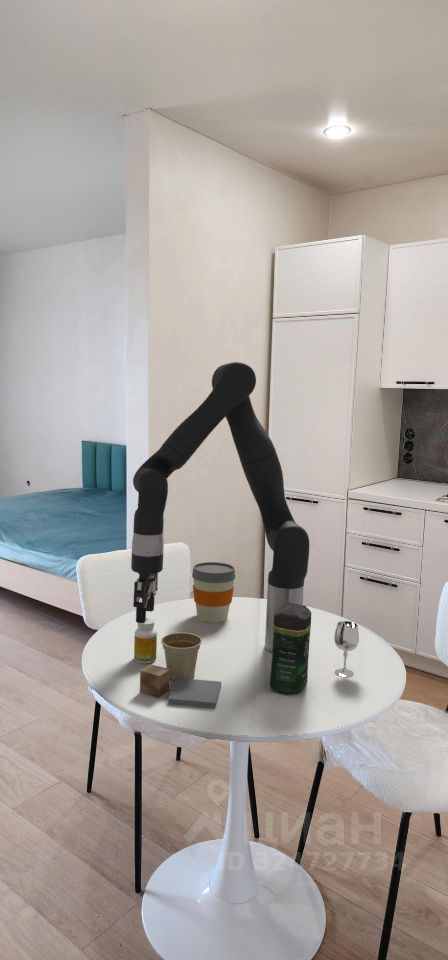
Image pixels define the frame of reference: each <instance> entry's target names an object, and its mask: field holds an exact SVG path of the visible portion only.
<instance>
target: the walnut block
mask: <svg viewBox="0 0 448 960" xmlns="http://www.w3.org/2000/svg"><path fill="white" fill-rule="evenodd" d="M139 672H140V674H139V675H140V676H139V693H140V694H144V695H148V696H151V697H155V698H158V699H160V698H161V697H163V696H164V695H165V694H167V693H168V692H169V691H170V682H171V681H170V680H171V678H170V669H167V667H162V666H159V665H155V664H152V663H149V664H148V665H147V666H144V667H143V668H142V669H141V670H140V671H139Z"/></svg>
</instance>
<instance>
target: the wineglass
mask: <svg viewBox="0 0 448 960" xmlns="http://www.w3.org/2000/svg"><path fill="white" fill-rule="evenodd" d="M334 630H335V631H334V637H333V638H334V639H333V640H334V641H333V642H334V643H335V646H336V647H337V649H339V650H341V651H342V652H343V654H342V655H343V667H342V668H337V669H335V670H334V673H335V674H336V675H337V676H340V677H344V678H350V676H351V677H353V676H354V674H355V673H354V671H353V670H351V669H348V668H347V667H346V666H347V659H348V655H349V654H348V652H350V651H354V650H356V649H357V647H358V646H359V643H360V631H359V627H358V623H356V622H354V621H350V620H349V621H348V620H341V621H338V622H337V624H336V627H335V629H334Z"/></svg>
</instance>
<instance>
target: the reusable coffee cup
mask: <svg viewBox="0 0 448 960" xmlns="http://www.w3.org/2000/svg"><path fill="white" fill-rule="evenodd" d="M191 577H192V579H193V585H192V590H193V591H192V592H193V600H194V602H195V603H194V604H195V610H196V618H197V619H198V620H199V621H201V622H203V623H204V622H205V623H210V624H211V623H212V624H213V623H215V624H217V623H223V622H225V621H227V620H228V617H229V611H230V607H231V606H230V605H231V604H232V601H233V596H234V591H235V586H234V582H235V579H236V567H234V565H231V564H229V563H225V562H220V561H219V562H216V561H205V562H198V563H196V564H194V566H193V568H192V575H191Z"/></svg>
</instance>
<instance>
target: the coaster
mask: <svg viewBox="0 0 448 960" xmlns="http://www.w3.org/2000/svg"><path fill="white" fill-rule="evenodd" d="M221 688H222V681H218V680H216V681H215V680H207V679H205V680H204V679H197V678H196V679H195V678H190V679H185V678H177V679H176V681H175V683H174V685H173V686H172V689H171V692H170V693H169V695H168V698H167V704H168V705H174V706H187V707H197V708H207V709H208V708H209V709H216V707H217V705H218V704H217V703H218V700H219V696H220V692H221Z"/></svg>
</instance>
